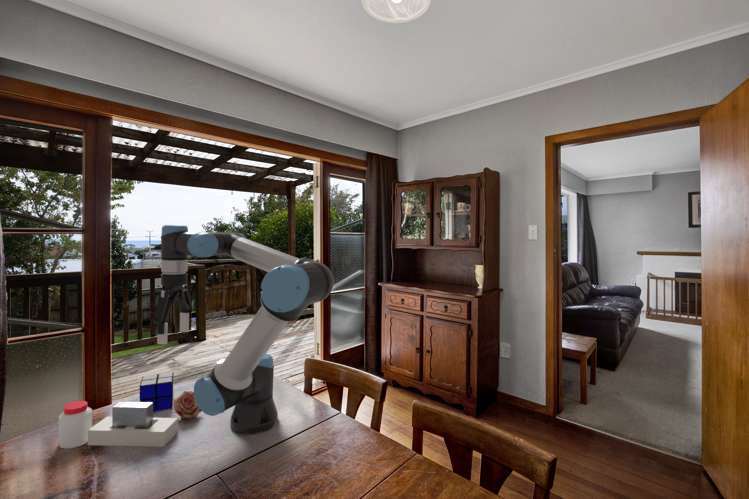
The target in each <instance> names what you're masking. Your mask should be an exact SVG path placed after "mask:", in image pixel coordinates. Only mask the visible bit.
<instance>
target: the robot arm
mask: <svg viewBox="0 0 749 499" xmlns="http://www.w3.org/2000/svg"><path fill="white" fill-rule="evenodd" d="M160 250H161V251H160V252H161V253H160V254H161V256H160V258H161V259H160V260H161V262H160V265H161V270H160V271H161V274H160V284H161V286H163V287H164V288H165V289H164V290H159V291H158V298H157V302H156V306H155V309H154V314H153V317H152V321H151V322H152V324H156V325H157V327H156V329H157V331H156V333H157V334H156V340H157V342H156V344H157V345H168V342H169V341H168V339H169V338H168V335H169V333H168V328H169V326H168V325H169V323H168V322H167V321H168V318H169V315H170V313H171V310H172V307H173V306H174V305H175V304H177V306H178V307H179V309H180V311H181V312H180V313H179V333H189V332H190V313H192V312H193V303H192V298H191V295H190V290H189V285H188V273H187V272H188V271H189V270H188V269H189V268H188V267H189V266H188V260H189V258H188V256H190V257H196V258H209V257H213V256H228V257H231V258H233V259H236V260H239V261H240V262H244V263H246V264H247V265H251V266H252V267H255V268H257V269H260V270H262V271H265V272H266V274H265V275H264V277H263V279H262V282H261V285H260V289H261V291H260V306H261V307H260V308H259V309H258V310H257V312H256V314H255V315H254V317H253V318H252V319H251V321H250V323H249V324H248V325H247V326H246V328H245V330H244V332H242V334H241V336H240V337H239V339H237V342H236V343H235V345H234V346H233V348H232V349H231V350H230V352H229V354H228V355H227V356H226V357H223V358H221V359H219V360H218V361H217V362H216V363H215V365H214V367H213V368H212V370H211V371H210V372H209V373H207V374H206V375H202V376H201V377H199V378H197V379H196V381H195V383H194V385H193V392H194V396H195V400H196V403H197V405H198V407H199V408H200V409H201V410H202V411H201V412H203V413H204V414H205V415H207V416H210V417H213V416H217V415H219V414H223V413H224V412H225V411H227V410H229V409H231V408H233V410H232V413H231V416H230V423H229V424H230V428H231V430H232V431H234V430H235V431H234V432H236V433H238V432H239V433H238V434H243V433H254V434H258V433H257V432H260V433H262V432H261V431H263V432H265V431H264V430H266V431H268V430H270V429H271V427H272V426H273V425H274V424H275V423H276V422H278V420H279V419H278V418H279V416H278V414H279V412H278V410H277V407H276V404H275V399H274V397H273V396H274V373H275V372H274V369H275V366H274V358H273V356H272V355H270V354H269V353H268V352H269V350H270V348H271V347H272V346H273V344H274V343H275V341H276V340H277V339H278V337H279V336H280V335H281V333H282V332H283V331H284V329H285V328H286V326H287V325H288V324H289V323H294V322H296V321H297V320H298V319H299V318H300V316H301V315H302V313H303V312H304V311H305V309H306V308H307V307H308V306H310V305H312V304H315V303H319V302H322V301H325V299H327V297H329V296H330V294H331V293H332V291H333V287H334V282H335V281H334V280H335V279H334V276H333V274H332V271H331V269H330V268H329V267H328V266H327V265H326V264H325V263H322V262H319V261H316V260H313V259H311V258H308V257H301V258H299V257H296V256H293V255H291V254H288V253H285V252H282V251H279V250H277V249H274V248H272V247H269V246H266V245H264V244H261V243H259V242H256V241H253V240H250V239H248V238H247V236H245V234H243V233H241V232H234V231H233V232H206V231H203V232H202V231H198V232H197V231H189V228H188V226H187V225H178V224H177V225H176V224H164V225H163V226H162V227H161V236H160ZM276 424H277V423H276ZM276 424H275V425H276ZM275 425H274V426H275ZM274 426H273V427H274ZM273 427H272V428H273ZM269 428H270V429H269ZM267 429H268V430H267Z"/></svg>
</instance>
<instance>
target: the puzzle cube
mask: <svg viewBox="0 0 749 499" xmlns="http://www.w3.org/2000/svg"><path fill="white" fill-rule="evenodd" d="M139 402H153V413H154V412H160V411H167V410H171V409H173V408H174V372H173V371H170V372H164V373H163V372H162V373H155V374H145V375H142V377H141V381H140V383H139Z"/></svg>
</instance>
